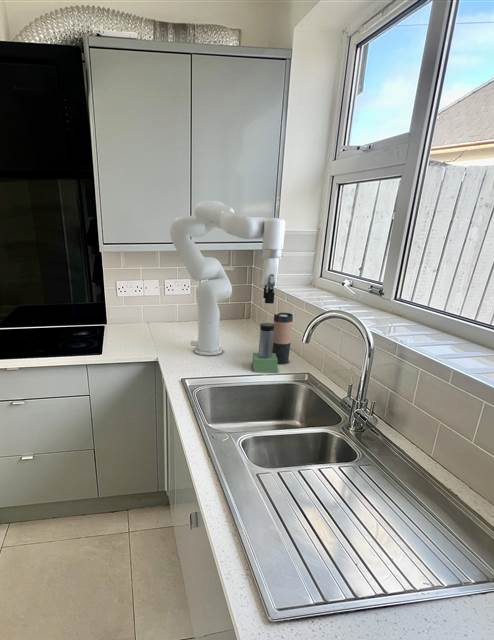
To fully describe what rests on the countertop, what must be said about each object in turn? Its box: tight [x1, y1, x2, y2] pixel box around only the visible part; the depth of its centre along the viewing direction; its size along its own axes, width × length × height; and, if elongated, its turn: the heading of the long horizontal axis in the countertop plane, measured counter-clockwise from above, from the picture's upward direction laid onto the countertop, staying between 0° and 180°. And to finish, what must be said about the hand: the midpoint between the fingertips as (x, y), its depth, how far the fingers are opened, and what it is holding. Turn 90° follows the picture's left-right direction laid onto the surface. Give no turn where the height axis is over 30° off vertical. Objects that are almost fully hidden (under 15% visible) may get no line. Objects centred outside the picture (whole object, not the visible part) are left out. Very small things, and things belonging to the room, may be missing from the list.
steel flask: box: [258, 322, 275, 359], centre depth 159 cm, size 5×5×13 cm
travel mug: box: [272, 312, 294, 365], centre depth 168 cm, size 8×8×20 cm
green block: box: [252, 352, 279, 373], centre depth 163 cm, size 9×9×5 cm
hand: (268, 300), depth 155 cm, fingers open, 9 cm apart
